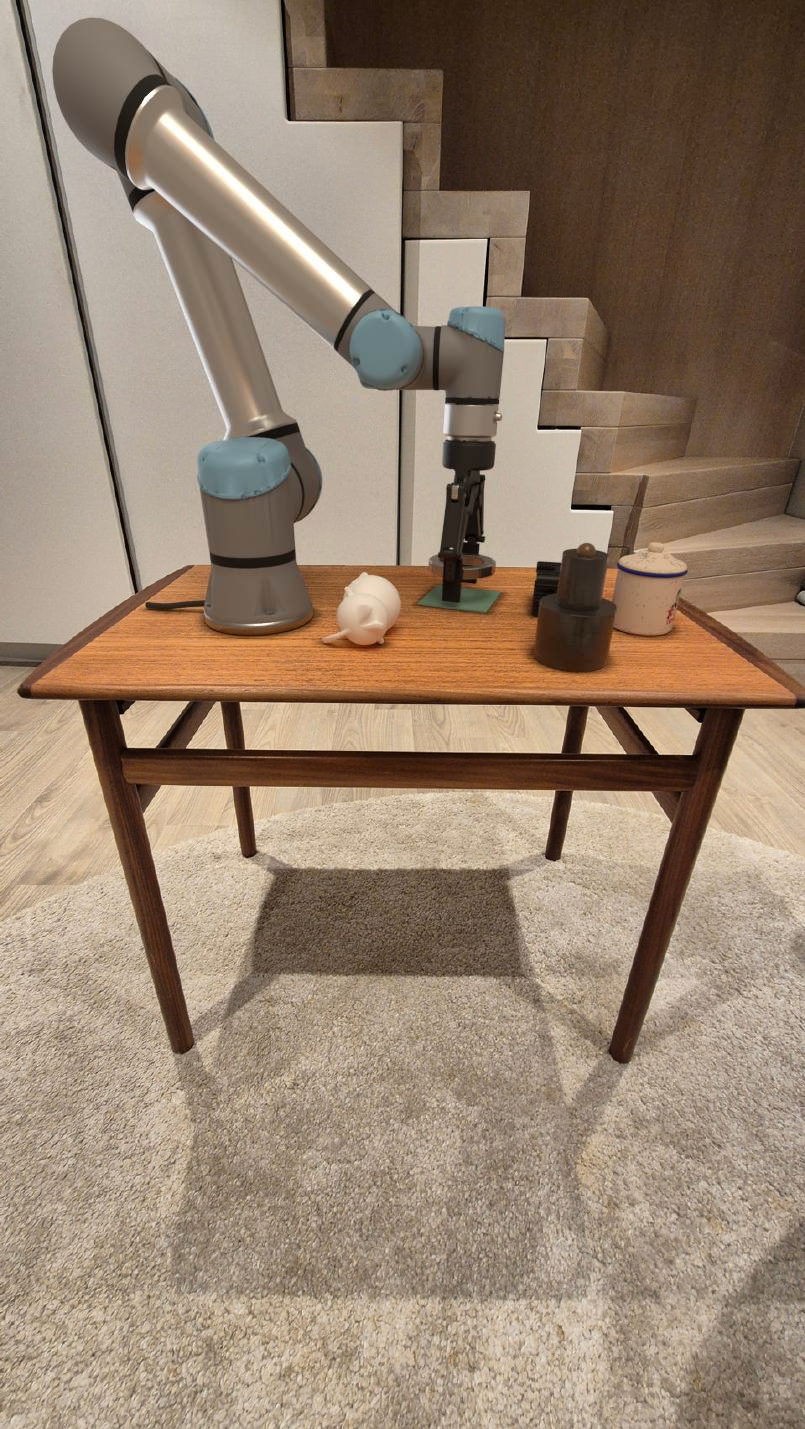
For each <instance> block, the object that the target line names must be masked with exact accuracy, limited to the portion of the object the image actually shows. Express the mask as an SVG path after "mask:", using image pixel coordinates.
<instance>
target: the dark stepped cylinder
mask: <svg viewBox="0 0 805 1429" xmlns="http://www.w3.org/2000/svg"><path fill="white" fill-rule="evenodd" d="M609 559H610V554H609V553H608V552H605V551H602V550H599V549H596V547H595V545H593V544H592V543H590V542H584V543H583V542H582V543H581V544H580V545H579V546H577V548H569V549H565V550H563V551H562V555H561V562H560V563H561V568H560V576H559V583H558V590H557V594H551V595H547V596H544V597H543V598H541V600H540V604H539V612H538V617H537V622H536V628H535V637H534V644H533V651H532V652H533V653H532V655H533V658H534V659H535V660H536V662H538V663H539V664H541V665H543V666H545V667H548V668H550V669H552V670H553V669H554V670H556V671H557V670H558V671H563V672H568V673H589V672H596V671H598V670H601V669H603V668H604V667H606V665H607V664H608V658H609V652H610V647H611V643H612V637H613V632H614V622H615V617H616V611H617V606H616V605H615V604H614V603H613V602H612V600H609V599H607V598H605V597H603V592H604V589H605V583H606V576H607V570H608V564H609Z"/></svg>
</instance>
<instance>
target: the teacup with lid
mask: <svg viewBox="0 0 805 1429" xmlns="http://www.w3.org/2000/svg"><path fill="white" fill-rule="evenodd" d="M616 567H617V572H616V578H615V582H614V583H615V584H614V588H613V593H612V598H611V602H613V603H614V604H615V605H616V606H617V611H616V617H615V622H614V627H613V629H616V630H618V631H621V632H624V633H627V634H631V635H636V636H646V637H649V636H650V637H655V636H663V635H666V634H668V633H670V632H671V631H672V630H673V626H674V623H675V618H676V614H677V610H678V606H679V602H680V597H681V593H682V589H683V585H684V582H685V581H684V580H685V576H686V575H687V574H688V573H689V572H688V571H689V570H688V566H687V563H686V562H684V561H683V560H681V559H678V558H675V557H674V556H673V555H672V554H671V553H669V552H668V551H665V544H664V543H662V542H657V541H656V542H655V541H654V542H650V543H648V546H647V549H641V550H639V551H637V552H635V553H633V554H627V555H624V556H622V557H620V558H619V560H618V561H617V563H616Z"/></svg>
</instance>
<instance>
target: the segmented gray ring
mask: <svg viewBox="0 0 805 1429" xmlns="http://www.w3.org/2000/svg"><path fill="white" fill-rule="evenodd" d="M461 558H462V559H463V565H471V566H462V579H463V580H465V579H477V580H478V579H480V580H481V579H486V578H489V577H493V575H494V574H495V573H496V567H497V566H496V565H497V562H496V560H495V559H493V557H490V556H489V555H484V554H480V553H479V554H478V555H477V554H473V553H461ZM443 565H444V558H438V554H434V555H431V557H429V558H428V571H429V572H430V573H431V574H433V575H434V576H438V577H442V578H443Z"/></svg>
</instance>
